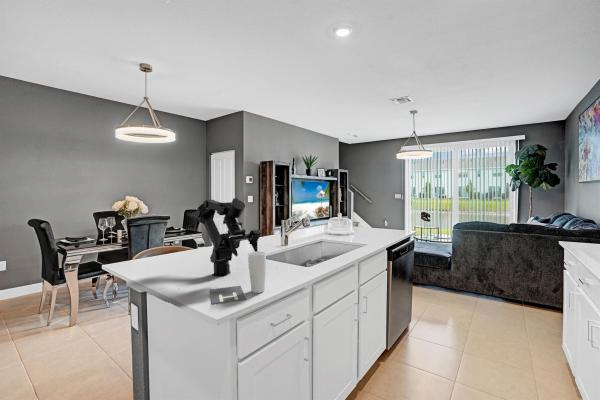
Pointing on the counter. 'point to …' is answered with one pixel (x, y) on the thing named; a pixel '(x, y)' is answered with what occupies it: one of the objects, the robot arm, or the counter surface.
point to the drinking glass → (257, 271)
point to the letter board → (227, 294)
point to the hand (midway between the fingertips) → (247, 254)
